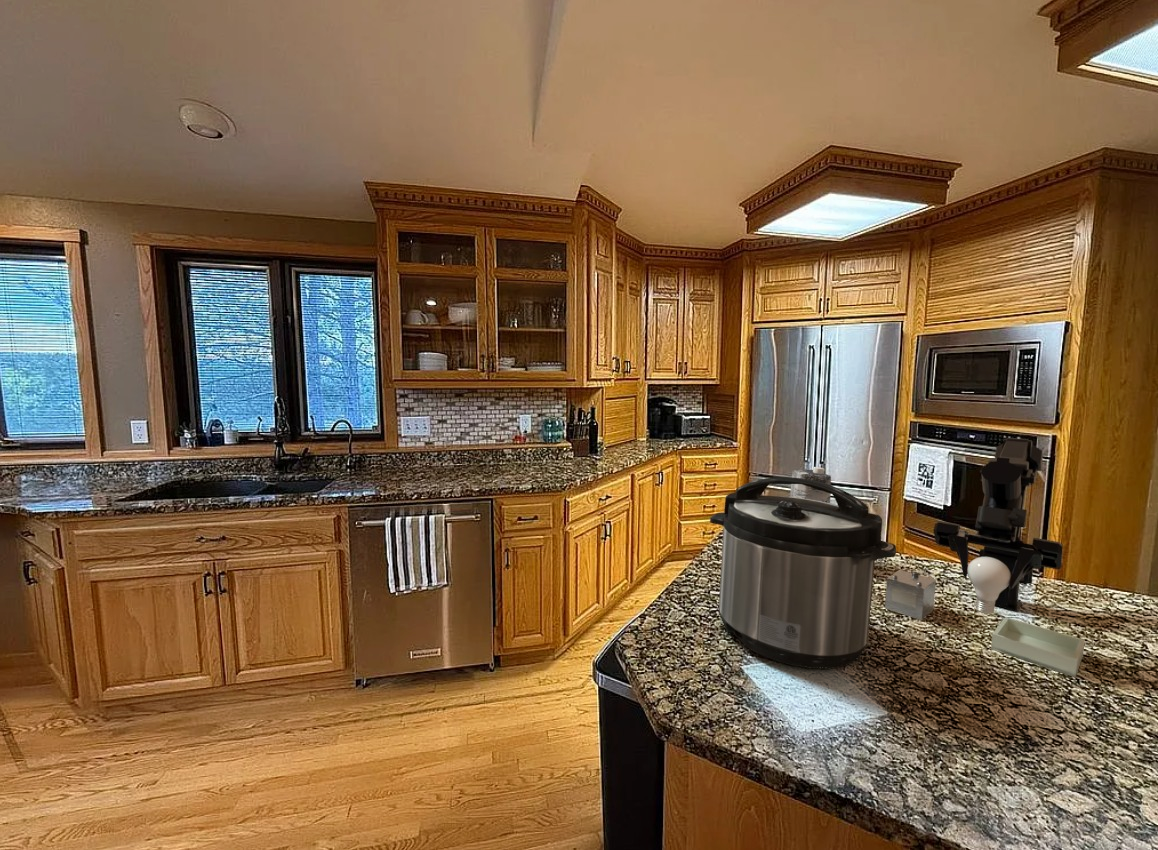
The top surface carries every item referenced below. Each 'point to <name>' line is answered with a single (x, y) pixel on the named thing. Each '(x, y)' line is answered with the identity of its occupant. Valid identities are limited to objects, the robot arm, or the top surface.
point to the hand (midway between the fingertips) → (987, 581)
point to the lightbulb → (988, 581)
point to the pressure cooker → (799, 573)
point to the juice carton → (809, 492)
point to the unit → (910, 594)
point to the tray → (1039, 646)
